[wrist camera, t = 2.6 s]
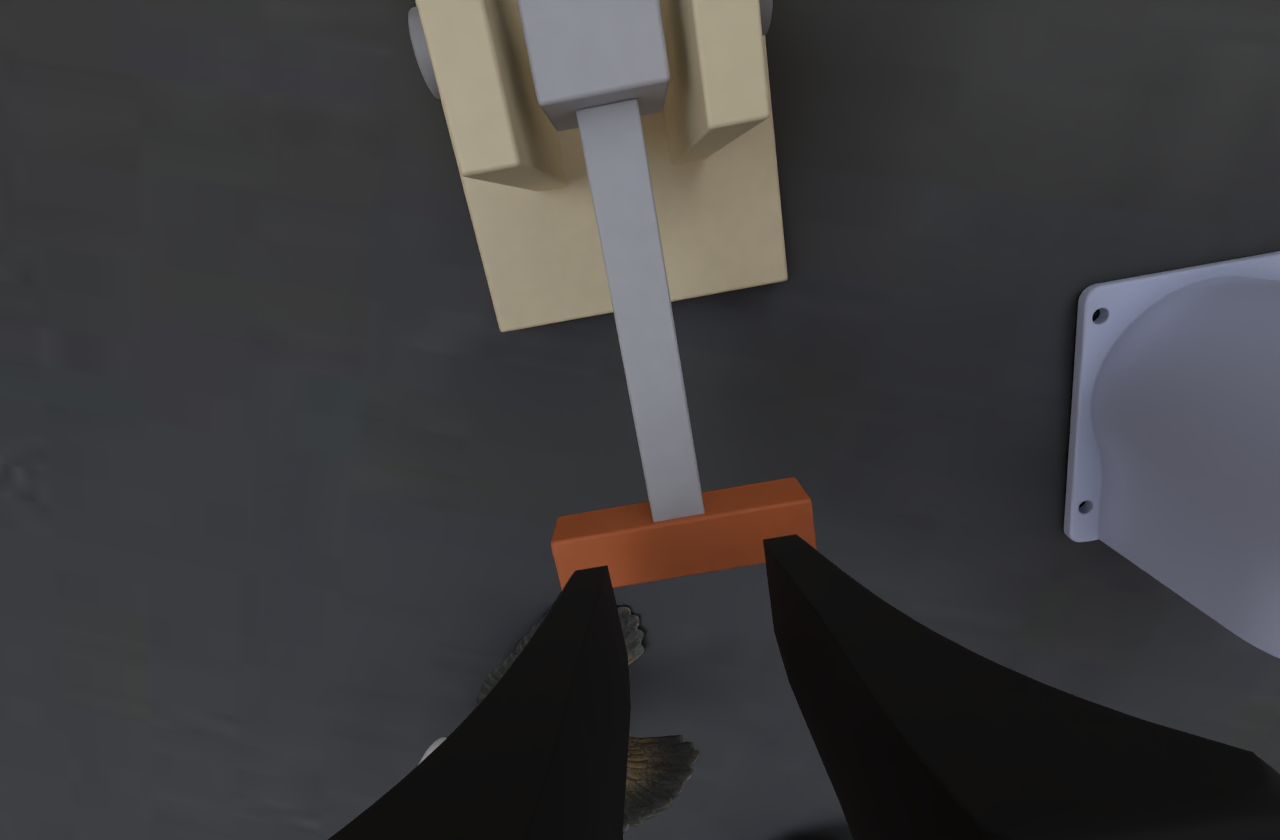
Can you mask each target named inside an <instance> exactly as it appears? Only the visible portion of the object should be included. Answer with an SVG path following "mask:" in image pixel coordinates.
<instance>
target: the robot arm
mask: <svg viewBox="0 0 1280 840" xmlns="http://www.w3.org/2000/svg"><path fill="white" fill-rule="evenodd" d="M1098 309H1099V311H1100V314H1099V317H1098V318H1097V319H1096V320H1095V321H1093V320H1092V316H1093V313H1094V312H1095V311H1096V310H1098ZM1084 501H1085V504H1084V505H1083V506H1082V507H1080V508H1079V505H1080V504H1081V503H1082V502H1084ZM1064 533H1065V534H1066V535H1067V536H1068V537H1069V538H1070V539H1072V540H1073V541H1075V542H1087V541H1093V540H1099V539H1100V540H1101V541H1102V542H1103V543H1105V544H1106V545H1108V546H1109V547H1111V548H1112V549H1114V550H1115V551H1116V552H1118V553H1119V554H1121V555H1122V556H1124V557H1125V558H1126V559H1128V560H1129V561H1131V562H1132V563H1134V564H1135V565H1136V566H1138V567H1139V568H1141V569H1142V570H1144V571H1145V572H1146V573H1148V574H1149V575H1151V576H1152V577H1154V578H1155V579H1156V580H1158V581H1159V582H1161V583H1162V584H1164V585H1165V586H1166V587H1168V588H1169V589H1171V590H1172V591H1174V592H1175V593H1176V594H1178V595H1179V596H1181V597H1182V598H1184V599H1185V600H1187V601H1188V602H1189V603H1191V604H1192V605H1194V606H1195V607H1197V608H1198V609H1199V610H1201V611H1202V612H1204V613H1205V614H1207V615H1208V616H1209V617H1211V618H1212V619H1214V620H1215V621H1217V622H1218V623H1219V624H1221V625H1222V626H1224V627H1225V628H1227V629H1228V630H1229V631H1231V632H1232V633H1234V634H1235V635H1237V636H1238V637H1240V638H1241V639H1243V640H1245V641H1246V642H1248V643H1250V644H1251V645H1253V646H1255V647H1257V648H1259V649H1261V650H1263V651H1265V652H1267V653H1268V654H1270V655H1272V656H1275V657H1277V658H1279V659H1280V251H1277V252H1272V253H1266V254H1260V255H1255V256H1249V257H1243V258H1238V259H1232V260H1227V261H1221V262H1215V263H1210V264H1204V265H1198V266H1193V267H1187V268H1182V269H1176V270H1170V271H1165V272H1159V273H1153V274H1148V275H1142V276H1137V277H1131V278H1125V279H1120V280H1114V281H1108V282H1103V283H1097V284H1093V285H1091V286H1088V287H1087V288H1086V289H1085V290H1083V292H1082V293H1081V295H1080V297H1079V301H1078V313H1077V329H1076V344H1075V360H1074V376H1073V391H1072V407H1071V422H1070V438H1069V454H1068V469H1067V485H1066V501H1065V516H1064ZM763 545H764V553H765V561H766V569H767V577H768V585H769V593H770V601H771V609H772V617H773V625H774V632H775V635H776V639H777V642H778V646H779V649H780V653H781V656H782V660H783V663H784V666H785V670H786V673H787V676H788V680H789V683H790V685H791V688H792V690H793V692H794V695H795V697H796V700H797V702H798V704H799V707H800V709H801V712H802V714H803V716H804V719H805V721H806V724H807V726H808V728H809V731H810V733H811V735H812V738H813V740H814V742H815V745H816V747H817V750H818V752H819V754H820V757H821V759H822V761H823V764H824V766H825V768H826V771H827V773H828V776H829V778H830V780H831V783H832V785H833V787H834V790H835V792H836V794H837V797H838V799H839V802H840V804H841V807H842V809H843V812H844V815H845V817H846V820H847V823H848V825H849V828H850V831H851V834H852V837H853V840H1280V774H1279V773H1278V772H1277V771H1275V770H1274V769H1273V768H1272V767H1271V766H1269V765H1268V764H1267V763H1265V762H1264V761H1263V760H1262V759H1260V758H1259V757H1258V756H1256V755H1255V754H1254V753H1253V752H1250V751H1247V750H1243V749H1240V748H1237V747H1233V746H1230V745H1226V744H1223V743H1220V742H1216V741H1213V740H1209V739H1206V738H1203V737H1199V736H1196V735H1192V734H1189V733H1186V732H1182V731H1179V730H1175V729H1172V728H1169V727H1165V726H1162V725H1158V724H1155V723H1152V722H1148V721H1145V720H1142V719H1139V718H1136V717H1133V716H1130V715H1127V714H1124V713H1121V712H1119V711H1116V710H1113V709H1110V708H1107V707H1104V706H1102V705H1099V704H1096V703H1093V702H1090V701H1088V700H1085V699H1082V698H1079V697H1076V696H1074V695H1071V694H1069V693H1066V692H1064V691H1061V690H1058V689H1056V688H1053V687H1051V686H1048V685H1046V684H1043V683H1041V682H1038V681H1036V680H1034V679H1032V678H1029V677H1027V676H1025V675H1022V674H1020V673H1018V672H1016V671H1013V670H1011V669H1009V668H1006V667H1004V666H1002V665H999V664H997V663H995V662H993V661H991V660H989V659H987V658H984V657H982V656H980V655H978V654H976V653H974V652H972V651H970V650H968V649H966V648H964V647H962V646H961V645H959V644H957V643H955V642H953V641H951V640H949V639H947V638H945V637H943V636H942V635H940V634H938V633H936V632H934V631H932V630H930V629H929V628H927V627H925V626H924V625H922V624H920V623H918V622H917V621H915V620H913V619H912V618H910V617H909V616H907V615H905V614H904V613H902V612H901V611H899V610H897V609H896V608H894V607H893V606H891V605H890V604H888V603H886V602H885V601H883V600H882V599H881V598H879V597H878V596H876V595H875V594H873V593H872V592H871V591H869V590H868V589H866V588H865V587H864V586H862V585H861V584H860V583H858V582H857V581H855V580H854V579H853V578H851V577H850V576H849V575H847V574H846V573H845V572H843V571H842V570H841V569H839V568H838V567H837V566H836V565H834V564H833V563H832V562H831V561H829V560H828V559H827V558H826V557H824V556H823V555H822V554H821V553H819V552H818V551H817V550H816V549H814V548H813V547H812V546H811V545H810V544H808V543H807V542H806V541H805V540H803V539H802V538H801V537H799V536H798V535H797V534H794V535H788V536H782V537H776V538H769V539H763ZM630 708H631V705H630V684H629V667H628V653H627V649H626V645H625V640H624V636H623V631H622V627H621V622H620V618H619V614H618V609H617V605H616V600H615V596H614V592H613V587H612V583H611V578H610V574H609V570H608V565H606V566H600V567H594V568H588V569H582V570H576V571H575V572H574V573H573V574H572V576H571V577H570V579H569V580H568V582H567V583H566V585H565V587H564V588H563V590H562V591H561V593H560V595H559V596H558V598H557V599H556V601H555V603H554V604H553V606H552V607H551V609H550V610H549V612H548V614H547V615H546V617H545V618H544V620H543V621H542V623H541V624H540V626H539V627H538V628H537V630H536V631H535V633H534V634H533V636H532V637H531V639H530V640H529V642H528V643H527V645H526V646H525V647H524V649H523V650H522V652H521V653H520V654H519V656H518V657H517V658H516V659H515V661H514V662H513V663H512V665H511V666H510V667H509V669H508V670H507V671H506V672H505V674H504V675H503V676H502V678H501V679H500V680H499V682H498V683H497V684H496V685H495V687H494V688H493V689H492V690H491V691H490V693H489V694H488V695H487V696H486V697H485V698H484V700H483V701H482V702H481V703H480V704H479V705H478V706H477V707H476V708H475V709H474V711H473V712H472V713H471V714H470V715H469V716H468V717H467V718H466V719H465V720H464V721H463V722H462V723H461V724H460V726H459V727H458V728H457V729H456V730H455V731H454V732H453V733H452V734H451V735H450V736H449V737H448V738H446V739H445V740H444V741H443V742H442V743H441V744H440V745H439V746H438V747H437V748H436V749H435V750H434V751H433V752H432V753H431V754H429V755H428V756H427V757H426V758H425V759H424V760H423V761H422V762H421V763H420V764H419V765H418V766H417V767H416V768H415V769H413V770H412V771H411V772H410V773H409V774H408V775H407V776H406V777H405V778H404V779H403V780H401V781H400V782H399V783H398V784H397V785H396V786H394V787H393V788H392V789H391V790H390V791H388V792H387V793H386V794H385V795H384V796H382V797H381V798H380V799H379V800H378V801H377V802H375V803H374V804H373V805H372V806H370V807H369V808H368V809H367V810H365V811H364V812H363V813H362V814H360V815H359V816H358V817H357V818H355V819H354V820H353V821H351V822H350V823H349V824H348V825H346V826H345V827H344V828H343V829H341V830H340V831H339V832H337V833H336V834H335V835H333V836H332V837H331V838H329V839H328V840H623V824H624V808H625V792H626V776H627V760H628V744H629V727H630Z"/></svg>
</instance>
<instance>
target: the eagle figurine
mask: <svg viewBox="0 0 1280 840" xmlns="http://www.w3.org/2000/svg"><path fill="white" fill-rule="evenodd" d="M617 609H618V614H619V618H620V622H621V627H622V631H623V636H624V640H625V645H626V649H627V653H628V665H630V664H631V663H633V662H634V661H635V660H637V659H638V658H639V657H640V656H642V654H643V653H644V648H643V646H642V645H641V641H642V639H643V636H644V633H643V632H642V631H641V630H639V629H637V627H638V625H639V617H638V616H637V615H632V614H631V610H630V608H629V607H625V606H623V607H618V608H617ZM547 614H548V613H546V614H545V615H544V616H543V617H542V619H541V620H540V621H537V622H535V623H534V624H533V625H532V626H531V629H530V632H529V634H527V635H525V636H524V637H523V638H522V639H521V640H520V641H519V642H518V643H517V646H516V649H515V652H511V653H510V654H509V655H508V657H507V658H506V659H505V660H503V662H502V663H501V665H500V668H499V669H494V670H493V671H492V673H491V674H488V675H487V678H486V681H485V682H484V683H483V685H482V690H481V693H480V694H479V695H478V697H477V702H478V704H477V706H478V705H479V704H480V703H481V702H482V701H483V700H484V698H485V697H486V696H487V695H488V694H489V693H490V691H491V690H492V689H493V688H494V687H495V685H496V684H497V683H498V682H499V680H500V679H501V678H502V676H503V675H504V674H505V672H506V671H507V670H508V669H509V667H510V666H511V665H512V663H513V662H514V661H515V659H516V658H517V657H518V656H519V654H520V653H521V652H522V650H523V649H524V647H525V646H526V645H527V643H528V642H529V640H530V639H531V637H532V636H533V634H534V633H535V631H536V630H537V628H538V627H539V626H540V624H541V623H542V621H543V620H544V618H545V617H546V615H547ZM445 739H446V738H445V737H443V738H439V739H438V740H436V741H435V742H434V743H433V744H432V745H431V746H430V747H429V748H428V749H427V751H426V752H425V754H424V756H423V758H422V759H421V761H420V763H421V762H422V761H423V760H424V759H425V758H426V757H427V756H428V755H429V754H431V753H432V752H433V751H434V750H435V749H436V748H437V747H438V746H439V745H440V744H441V743H442V742H443V741H444V740H445ZM682 741H683V737H682V735H676V736H664V737H648V738H634V737H629V744H628V760H627V776H626V792H625V808H624V824H623V833H624V832H626V831H627V830H628V828H629V827H630V826H631V827H637V826H639V825H640V824H641V823H642V822H643V821H644V820H647V819H649V818H652V817H654V816H655V815H656V813H657V812H660V811H663V810H665V809H667V808H669V807H670V806H671V804H672V802H671V801H672V800H673V799H674V798H675V797H676V796H678V795H679V794H680V793H681V792H682V790H683V787H684V784H685V782H686V781H687V780H689V779H690V778H691V777H692V775H693V772H694V771H693V769H691V767H692V766H693V765H694V763H695V762H696V761H697V760H698V758H699V757H700V754H701V752H700V751H698V750H694V744H693V743H692V742H682ZM420 763H419V764H420ZM419 764H418V765H419Z"/></svg>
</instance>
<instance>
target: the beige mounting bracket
mask: <svg viewBox="0 0 1280 840" xmlns="http://www.w3.org/2000/svg"><path fill="white" fill-rule="evenodd" d="M415 1H416V5H417V7H413V8H411V9H410V10H409V13H408V25H409V32H410V37H411V42H412V46H413V50H414V53H415V56H416V59H417V62H418V65H419V68H420V70H421V73H422V75H423V78H424V80H425V82H426V84H427V86H428V87H429V89H430V91H431V92H432V94H433V95H434V96H435V97H436V98H437V99H441V103H442V107H443V111H444V114H445V118H446V122H447V126H448V130H449V134H450V138H451V142H452V146H453V149H454V153H455V157H456V161H457V165H458V169H459V173H460V177H461V181H462V185H463V188H464V192H465V196H466V200H467V204H468V208H469V212H470V216H471V220H472V223H473V227H474V231H475V235H476V239H477V243H478V247H479V251H480V255H481V259H482V262H483V266H484V270H485V274H486V278H487V282H488V286H489V290H490V294H491V297H492V301H493V305H494V309H495V313H496V317H497V321H498V325H499V329H500V331H501V332H507V331H513V330H518V329H524V328H530V327H535V326H541V325H546V324H552V323H557V322H563V321H568V320H574V319H579V318H585V317H590V316H596V315H601V314H607V313H612V312H613V306H612V301H611V296H610V291H609V285H608V280H607V275H606V269H605V264H604V259H603V254H602V248H601V243H600V238H599V232H598V227H597V222H596V216H595V211H594V206H593V201H592V195H591V190H590V185H589V179H588V174H587V169H586V164H585V158H584V153H583V148H582V142H581V137H580V132H579V128H575V129H570V130H564V131H556V129H555V128H554V126H553V125H552V123H551V122H550V120H549V119H548V117H547V116H546V114H545V113H544V111H543V110H542V108H541V107H540V105H539V104H538V102H537V97H536V93H535V88H534V83H533V78H532V73H531V68H530V63H529V58H528V53H527V48H526V44H525V39H524V34H523V29H522V24H521V19H520V14H519V9H518V4H517V0H415ZM660 6H661V13H662V20H663V27H664V34H665V40H666V47H667V54H668V61H669V68H670V75H671V77H670V82H669V86H668V91H667V95H666V100H665V104H664V109H663V110H662V111H661V112H657V113H652V114H647V115H642V116H641V121H642V127H643V133H644V139H645V145H646V152H647V158H648V164H649V170H650V176H651V183H652V189H653V195H654V201H655V207H656V214H657V220H658V226H659V232H660V238H661V245H662V251H663V257H664V263H665V269H666V275H667V282H668V288H669V294H670V300H671V302H673V301H678V300H684V299H689V298H695V297H700V296H706V295H711V294H717V293H722V292H728V291H733V290H739V289H744V288H750V287H755V286H761V285H766V284H772V283H777V282H783V281H786V280H787V278H788V275H787V264H786V254H785V243H784V232H783V222H782V211H781V200H780V190H779V179H778V168H777V158H776V147H775V136H774V126H773V115H772V104H771V94H770V83H769V73H768V62H767V51H766V41H765V34H766V33H767V32H768V30H769V26H770V22H771V16H772V6H773V0H660Z"/></svg>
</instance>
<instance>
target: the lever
mask: <svg viewBox="0 0 1280 840" xmlns="http://www.w3.org/2000/svg"><path fill="white" fill-rule="evenodd" d="M517 4H518V9H519V14H520V19H521V24H522V29H523V34H524V39H525V44H526V48H527V53H528V58H529V63H530V68H531V73H532V78H533V83H534V88H535V93H536V97H537V102H538V104H539V105H540V107H541V108H542V110H543V111H544V113H545V114H546V116H547V117H548V119H549V120H550V122H551V123H552V125H553V126H554V128H555V129H556V131H564V130H570V129H575V128H579V132H580V137H581V142H582V148H583V153H584V158H585V164H586V169H587V174H588V179H589V185H590V190H591V195H592V201H593V206H594V211H595V216H596V222H597V227H598V232H599V238H600V243H601V248H602V254H603V259H604V264H605V269H606V275H607V280H608V285H609V291H610V296H611V301H612V306H613V312H614V317H615V322H616V328H617V333H618V338H619V344H620V349H621V354H622V359H623V365H624V370H625V375H626V381H627V386H628V391H629V397H630V402H631V407H632V412H633V418H634V423H635V428H636V434H637V439H638V444H639V449H640V455H641V460H642V465H643V471H644V476H645V481H646V487H647V492H648V497H649V502H643V503H637V504H631V505H625V506H620V507H614V508H608V509H602V510H596V511H590V512H584V513H578V514H572V515H566V516H561V517H559V518H558V519H557V523H556V526H555V530H554V534H553V537H552V541H551V548H552V552H553V556H554V560H555V564H556V568H557V573H558V577H559V581H560V585H561V589H562V590H563V588H564V587H565V585H566V583H567V582H568V580H569V579H570V577H571V576H572V574H573V573H574V572H575V571H576V570H582V569H588V568H594V567H600V566H606V565H608V570H609V574H610V578H611V583H612V587H613V588H614V587H620V586H626V585H632V584H639V583H645V582H651V581H657V580H663V579H669V578H675V577H681V576H688V575H694V574H700V573H706V572H712V571H718V570H724V569H730V568H736V567H743V566H749V565H755V564H761V563H766V561H765V553H764V545H763V539H769V538H776V537H782V536H788V535H794V534H797V535H798V536H799V537H801V538H802V539H803V540H805V541H806V542H807V543H808V544H810V545H811V546H812V547H813V548H814V549H816V539H815V530H814V520H813V511H812V502H811V500H810V498H809V497H808V495H807V494H806V492H805V491H804V489H803V488H802V487H801V485H800V484H799V482H798V481H797V479H796V478H793V477H791V478H786V479H780V480H774V481H768V482H762V483H756V484H750V485H744V486H738V487H732V488H726V489H720V490H714V491H708V492H703V493H702V492H701V486H700V480H699V474H698V467H697V461H696V455H695V449H694V443H693V436H692V430H691V424H690V418H689V412H688V405H687V399H686V393H685V387H684V381H683V375H682V368H681V362H680V356H679V350H678V344H677V337H676V331H675V325H674V319H673V313H672V306H671V300H670V294H669V288H668V282H667V275H666V269H665V263H664V257H663V251H662V245H661V238H660V232H659V226H658V220H657V214H656V207H655V201H654V195H653V189H652V183H651V176H650V170H649V164H648V158H647V152H646V145H645V139H644V133H643V127H642V121H641V116H642V115H647V114H652V113H657V112H661V111H662V110H663V109H664V104H665V100H666V95H667V91H668V86H669V82H670V77H671V75H670V68H669V61H668V54H667V47H666V40H665V34H664V27H663V20H662V13H661V6H660V0H517ZM816 550H817V549H816Z"/></svg>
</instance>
